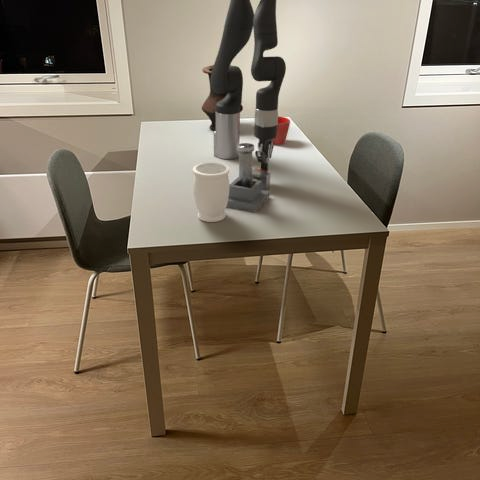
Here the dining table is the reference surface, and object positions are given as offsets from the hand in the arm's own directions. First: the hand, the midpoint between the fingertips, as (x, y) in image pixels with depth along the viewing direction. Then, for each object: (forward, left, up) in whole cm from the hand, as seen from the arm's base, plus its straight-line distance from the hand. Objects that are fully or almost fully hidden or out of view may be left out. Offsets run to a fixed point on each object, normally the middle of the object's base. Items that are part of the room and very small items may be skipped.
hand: (264, 172), depth 164 cm
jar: (-5, -31, -4) cm, 32 cm away
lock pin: (0, -8, -3) cm, 8 cm away
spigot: (0, -17, -2) cm, 17 cm away
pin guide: (0, -5, -4) cm, 6 cm away
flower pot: (-10, +44, -4) cm, 45 cm away
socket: (0, -17, -4) cm, 17 cm away
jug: (-39, +53, -4) cm, 66 cm away
